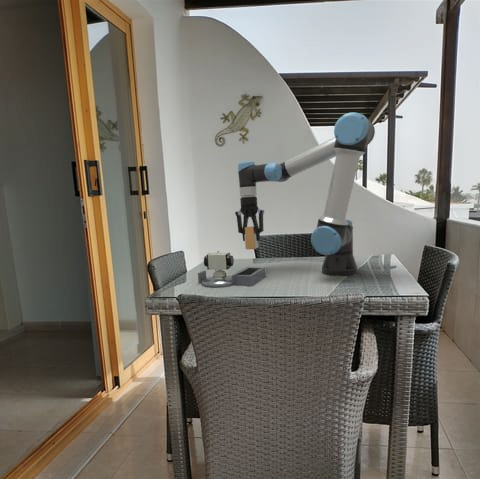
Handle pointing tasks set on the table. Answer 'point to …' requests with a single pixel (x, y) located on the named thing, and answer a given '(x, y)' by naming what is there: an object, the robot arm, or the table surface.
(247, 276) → the grey rectangular frame
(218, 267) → the pneumatic valve
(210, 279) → the grey disc
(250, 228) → the tan rectangular block
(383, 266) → the table surface
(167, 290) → the table surface
